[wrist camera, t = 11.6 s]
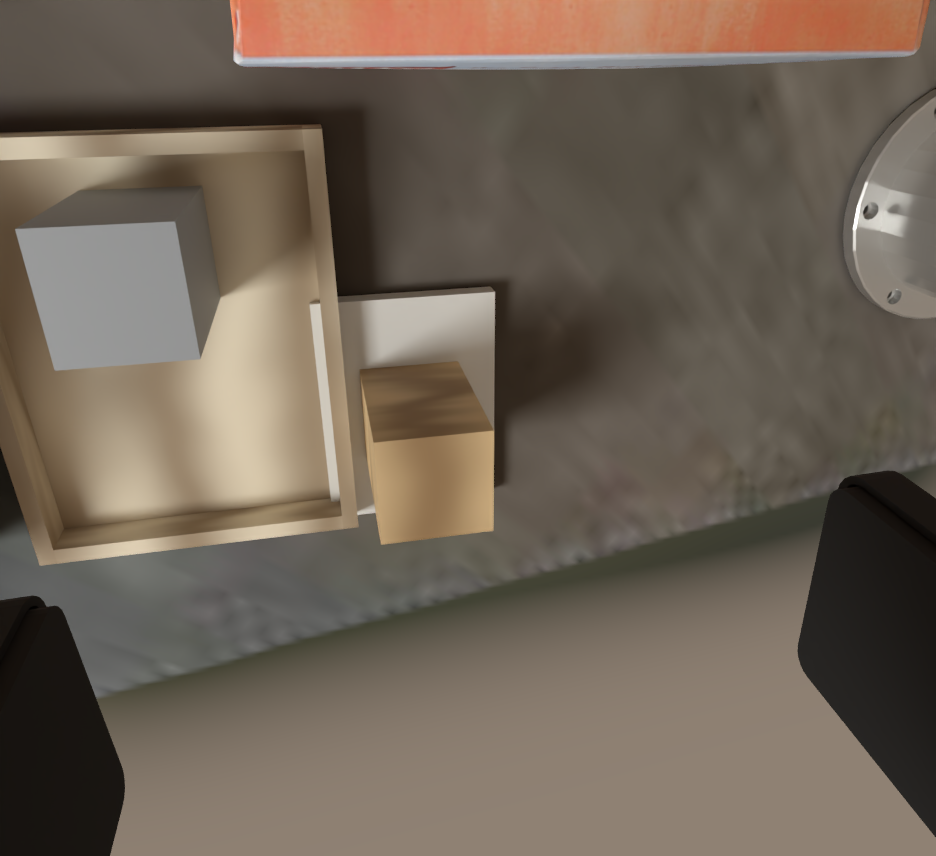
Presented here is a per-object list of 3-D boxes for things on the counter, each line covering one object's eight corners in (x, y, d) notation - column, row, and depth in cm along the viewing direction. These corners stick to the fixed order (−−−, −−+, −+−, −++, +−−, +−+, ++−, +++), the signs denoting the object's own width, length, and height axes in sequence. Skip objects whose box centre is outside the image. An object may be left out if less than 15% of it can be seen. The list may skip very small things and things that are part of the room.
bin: (320, 124, 33) (322, 129, 30) (355, 502, 41) (358, 526, 39) (-73, 134, 30) (-102, 140, 28) (54, 536, 39) (40, 565, 36)
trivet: (490, 286, 37) (494, 291, 36) (489, 489, 43) (493, 498, 42) (309, 298, 36) (309, 304, 35) (332, 507, 41) (332, 517, 40)
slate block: (202, 185, 32) (175, 221, 25) (220, 297, 34) (200, 359, 27) (78, 190, 31) (14, 228, 24) (105, 305, 33) (54, 370, 26)
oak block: (458, 361, 38) (494, 430, 31) (459, 447, 40) (493, 530, 33) (359, 369, 37) (373, 442, 30) (366, 457, 39) (381, 544, 32)
